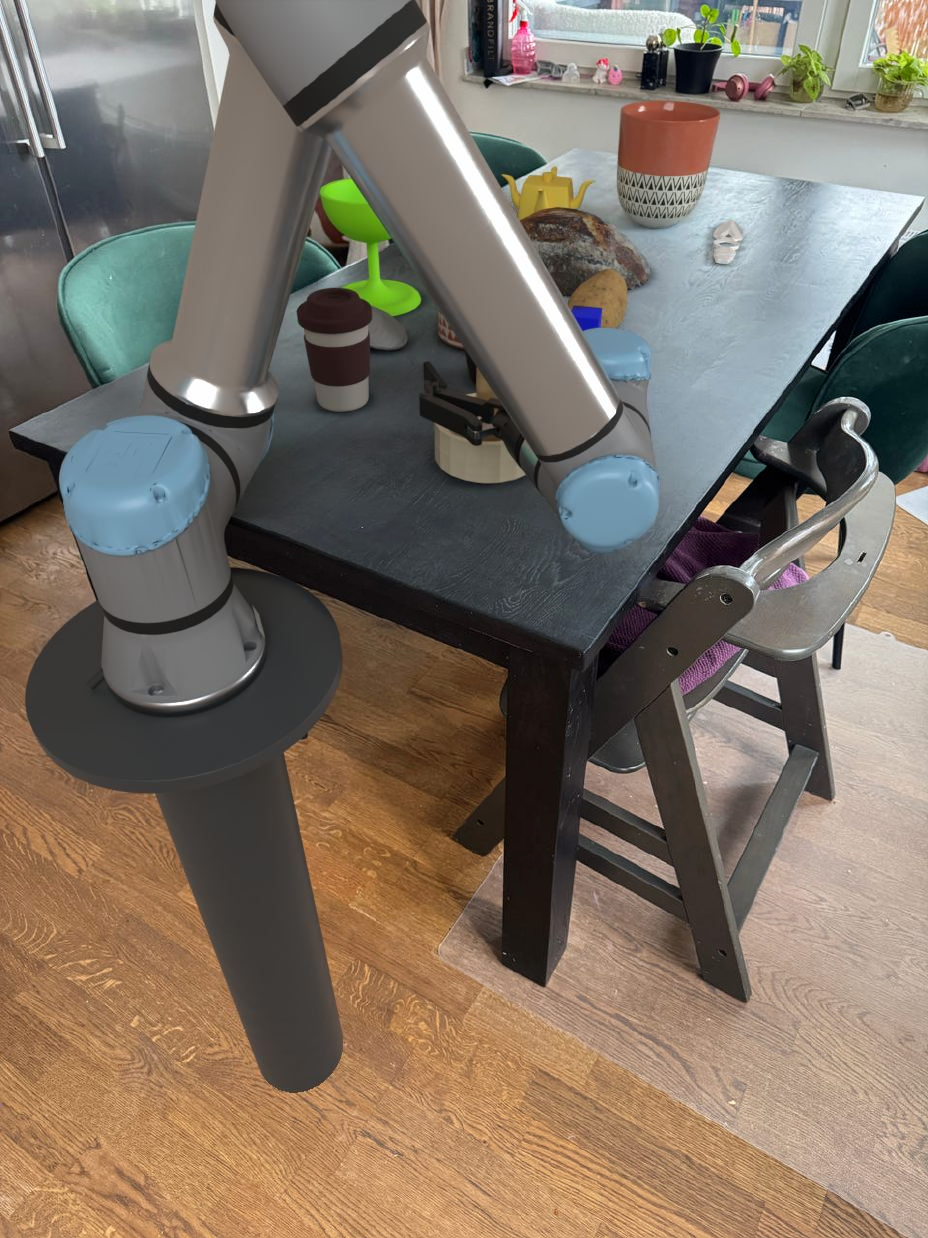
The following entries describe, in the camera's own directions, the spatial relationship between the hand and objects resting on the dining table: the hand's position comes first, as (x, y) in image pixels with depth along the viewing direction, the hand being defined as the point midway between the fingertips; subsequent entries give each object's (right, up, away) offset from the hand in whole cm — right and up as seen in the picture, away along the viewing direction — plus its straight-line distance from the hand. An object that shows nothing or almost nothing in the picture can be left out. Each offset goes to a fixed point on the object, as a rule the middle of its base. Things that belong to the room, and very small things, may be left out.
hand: (479, 363), depth 105 cm
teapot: (+16, +55, +81) cm, 99 cm away
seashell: (-16, +13, +33) cm, 39 cm away
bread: (+17, +35, +59) cm, 71 cm away
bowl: (+1, -11, +6) cm, 12 cm away
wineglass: (-17, +25, +47) cm, 56 cm away
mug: (+2, +3, +22) cm, 22 cm away
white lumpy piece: (+52, +46, +71) cm, 99 cm away
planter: (+39, +53, +79) cm, 103 cm away
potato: (+19, +15, +35) cm, 42 cm away
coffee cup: (-19, 0, +18) cm, 26 cm away
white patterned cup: (+1, +15, +35) cm, 38 cm away
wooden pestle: (+1, -10, +5) cm, 11 cm away
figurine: (+15, +1, +20) cm, 25 cm away
